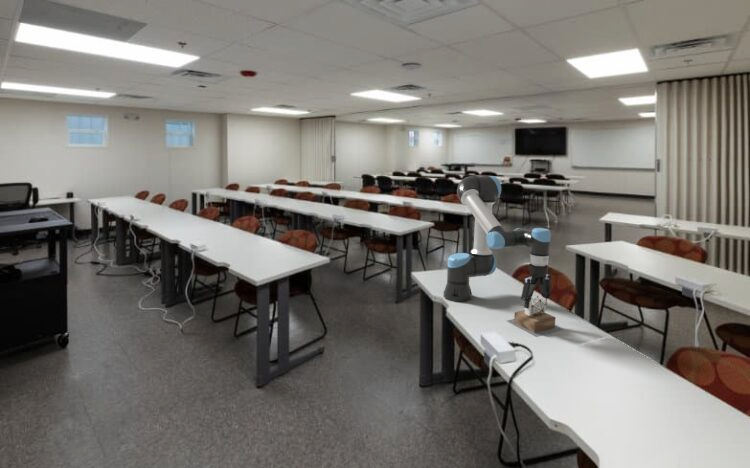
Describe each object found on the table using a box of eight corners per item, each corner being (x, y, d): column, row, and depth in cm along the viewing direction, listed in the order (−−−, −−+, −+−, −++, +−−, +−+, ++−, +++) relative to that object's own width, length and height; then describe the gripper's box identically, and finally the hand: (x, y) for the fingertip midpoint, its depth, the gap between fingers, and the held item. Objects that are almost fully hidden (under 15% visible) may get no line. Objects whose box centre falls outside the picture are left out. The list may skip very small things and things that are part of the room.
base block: (514, 322, 179) (514, 312, 178) (533, 317, 184) (534, 307, 183) (534, 333, 169) (535, 322, 168) (554, 327, 173) (555, 317, 172)
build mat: (505, 321, 181) (505, 320, 181) (531, 315, 188) (531, 314, 188) (536, 337, 165) (536, 336, 165) (563, 330, 172) (563, 329, 172)
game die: (538, 323, 175) (550, 310, 168) (520, 315, 175) (531, 302, 168) (538, 308, 181) (550, 295, 174) (520, 301, 182) (532, 288, 175)
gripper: (527, 269, 163) (523, 320, 168) (563, 263, 172) (558, 312, 176) (514, 264, 170) (510, 313, 174) (549, 259, 178) (545, 306, 183)
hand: (534, 312), depth 175 cm, fingers closed on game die, 8 cm apart
